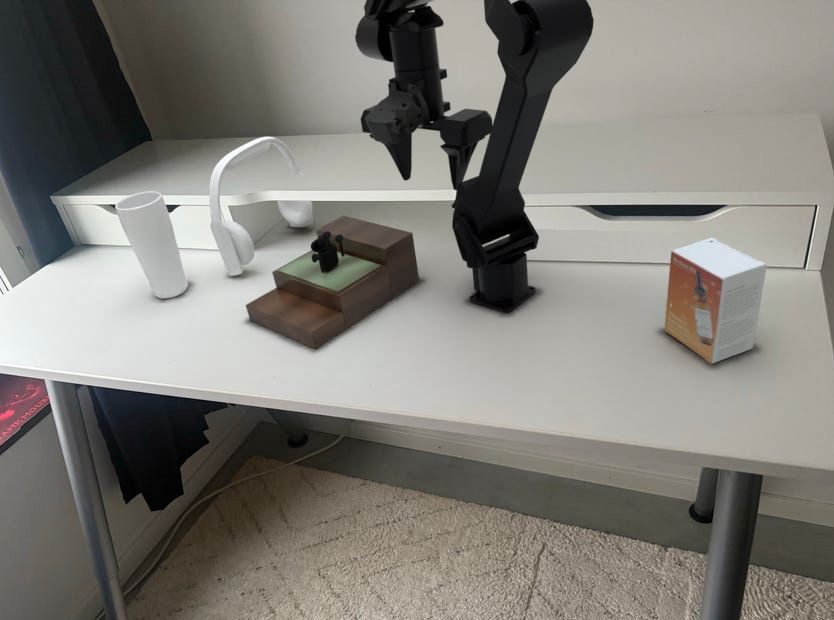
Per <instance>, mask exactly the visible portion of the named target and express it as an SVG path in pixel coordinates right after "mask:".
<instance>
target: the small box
mask: <svg viewBox="0 0 834 620" xmlns="http://www.w3.org/2000/svg"><path fill="white" fill-rule="evenodd" d="M767 267H768V264H767V263H765V262H764V261H761V260H758V259H755V258H754V257H751V256H750V255H747V254H745V253H744V252H742V251H740V250H738V249H735V248H733V247H732V246H730V245H727V244H726V243H724V242H722V241H720V240H719V239H717V238H715V237H710V238H706V239H703V240H699V241H696V242H694V243H690V244H688V245H684V246H681V247H677V248H675V249H673V250H671V252H670V263H669V273H668V284H667V298H666V308H665V317H664V319H665V320H664V329H663V330H664V332H665V333H667V334H669V336H672V338H675V339H677V340H678V341H679V342H681V343H682V344H683V345H685V346H686V347H687V348H689V349H690V350H691V351H693V352H694V353H696V354H697V355H699V356H700V357H701V358H703V359H704V360H705V361H706V362H707V363H709V364H711V365H714V364H715V363H717V362H721V361H723V360H725V359H728V358H732V357H734V356H737V355H739V354H741V353H745V352H747V351H750V350H752V349H753V348H754V343H755V337H756V331H757V326H758V319H759V314H760V308H761V303H762V296H763V291H764V285H765V278H766V272H767Z"/></svg>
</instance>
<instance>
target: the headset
mask: <svg viewBox="0 0 834 620" xmlns="http://www.w3.org/2000/svg"><path fill="white" fill-rule="evenodd" d="M271 145H273V146H275V147H276V148H277V149H278V151H279V152H280V153H281V155H282V157H283V158H284V160H285V162H286V164H287V166H288V168H289V170H290V174H292V175H296V176H298V175H304V174H303V173H302V171H301V169H300V166H299V164H298V162H297V159H296V158H295V156H294V155H293V153H292V151H291V150H290V148H289V147H288V146H287V144H285V142H283V141H282V140H280V139H278V138H276V137H274V136H261V137H258V138H256V139H254V140H251V141H248V142H246V143H245V144H243V145H241V146H239V147H237V148H235V149H233V150H232V151H230V152H229V153H227V154H226V155H225V156H223V157H222V158H221V159H220V160H219V161H218V162H217V163H216V165H215V167H214V168H213V170H212V173H211V176H210V181H209V190H208V196H209V197H208V198H209V212H210V224H209V226H210V227H209V228H210V230H211V233H212V236H213V238H214V241H215V243H216V246H217V248H218V251H219V254H220V257H221V260H222V261H223V264H224V267H225V270H226V271H227V274H228V275H229V277H234V276H239V275H241V274H243V273H244V271H243V266H247V265H249V264H250V263H251V262H252V261H253V260H254V256H255V245H254V242H253V239H252V237H251V236H250V234H249V232H247V230H246V229H245V228H244V227H243V226H242V225H241V224H240V223H237V222H236V221H233V220H223V219H222V213H221V202H220V201H221V200H220V199H221V197H220V195H221V193H220V192H221V182H222V178H223V175H224V173H225V171H226V170H227V171H232V170H235V169H237V168H238V167H240V166H241V165H243V164H244V163H246V162H247V161H249V160H251V159H253V158H254V157H256V156H258V155H261V154H262V153H265V152H266V151H267V150H269V149H270V147H271ZM276 203H277V207H278V209H279V212H280V214H281V216H282V217H283V218H284V219H285V220H286V221H287V222H288V223H289V226H290V227H291V228H304V227H308V226H311V225H312V224H313V223H314V218H313V217H314V216H313V203H312V200H311V201H277V200H276Z"/></svg>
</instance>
